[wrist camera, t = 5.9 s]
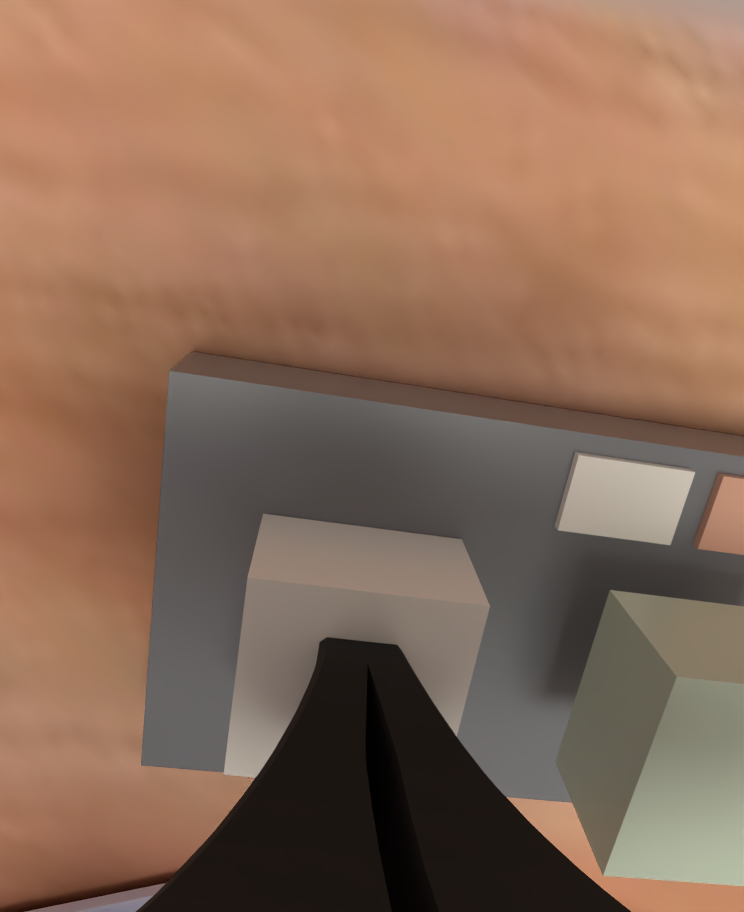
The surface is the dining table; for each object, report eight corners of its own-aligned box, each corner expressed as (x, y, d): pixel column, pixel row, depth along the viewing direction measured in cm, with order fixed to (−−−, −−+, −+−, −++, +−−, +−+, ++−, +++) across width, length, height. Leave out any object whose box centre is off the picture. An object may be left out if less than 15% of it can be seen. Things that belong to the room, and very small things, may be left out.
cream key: (241, 683, 14) (223, 775, 12) (263, 513, 13) (247, 577, 10) (424, 701, 15) (441, 793, 12) (461, 539, 13) (489, 606, 11)
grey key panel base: (162, 704, 17) (138, 772, 14) (191, 351, 14) (166, 372, 12) (912, 776, 19) (983, 844, 17) (1067, 486, 16) (1177, 524, 14)
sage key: (555, 761, 13) (602, 875, 11) (609, 589, 12) (676, 677, 10) (737, 779, 14) (820, 891, 11) (807, 614, 13) (918, 703, 10)
